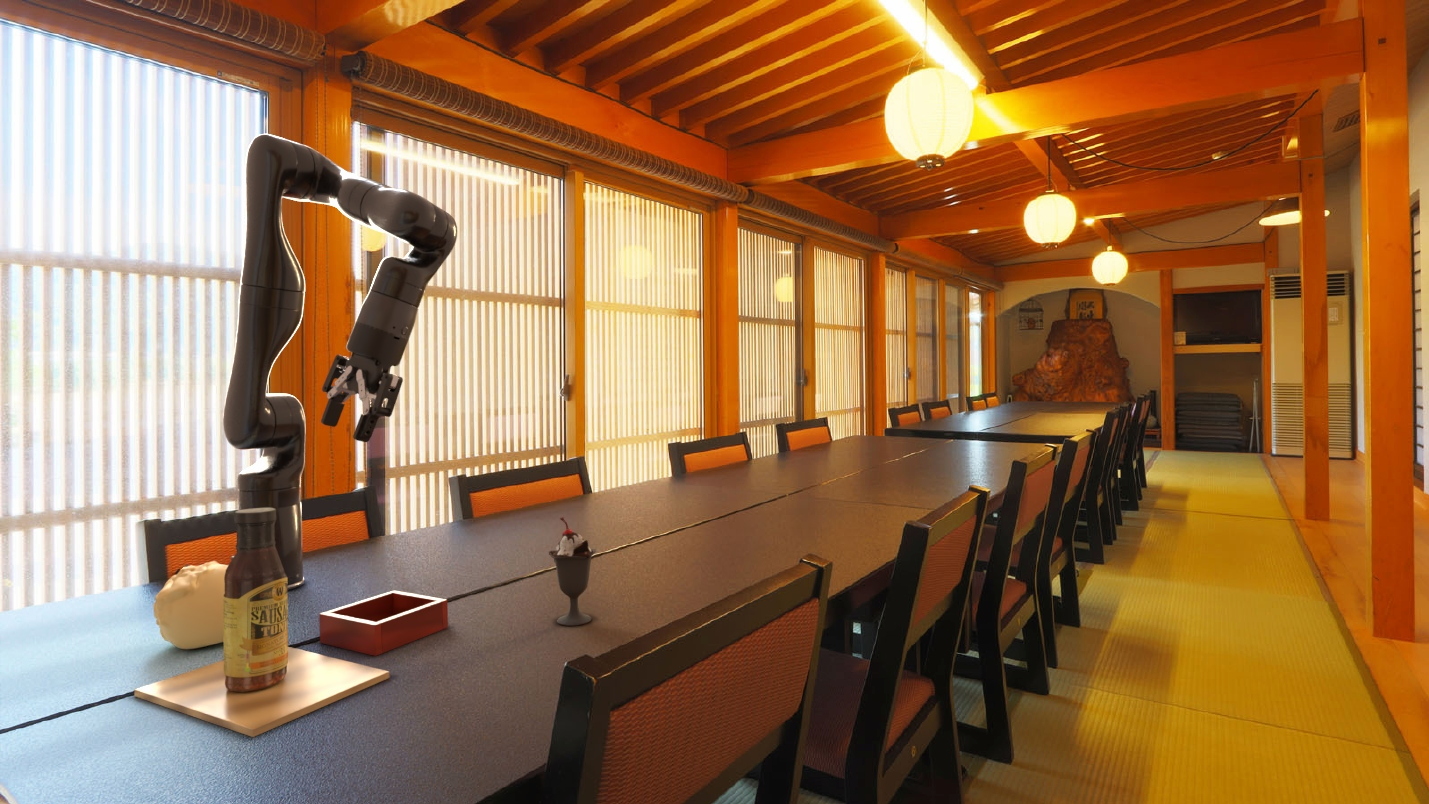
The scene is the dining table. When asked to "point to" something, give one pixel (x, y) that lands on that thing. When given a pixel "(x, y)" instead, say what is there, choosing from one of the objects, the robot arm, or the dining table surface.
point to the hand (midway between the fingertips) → (343, 432)
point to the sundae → (572, 573)
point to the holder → (383, 622)
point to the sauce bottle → (255, 606)
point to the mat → (262, 692)
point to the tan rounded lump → (192, 606)
